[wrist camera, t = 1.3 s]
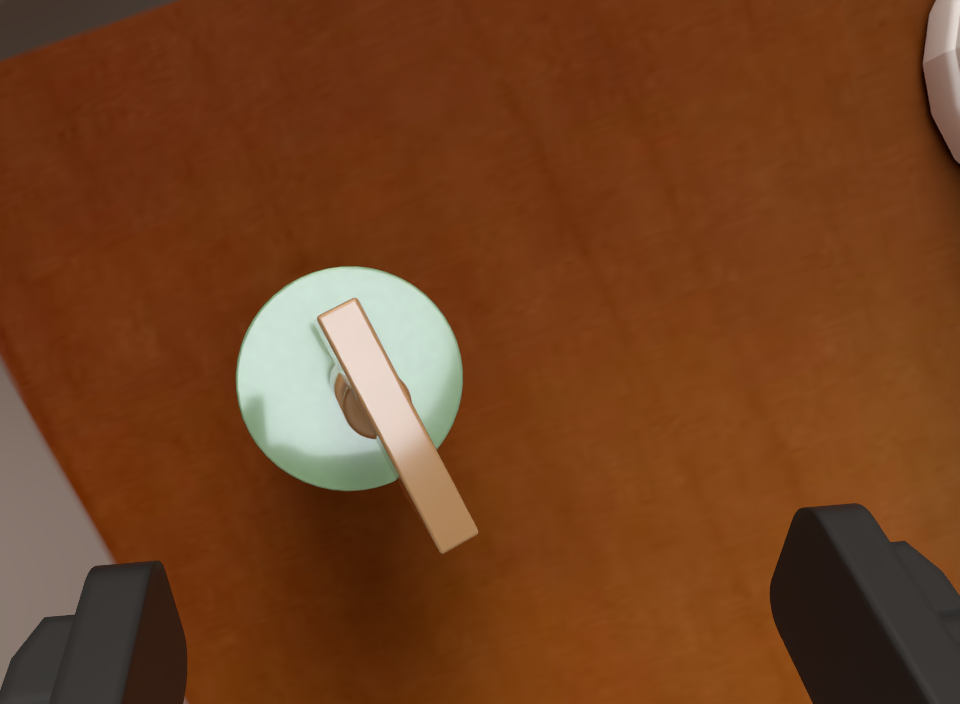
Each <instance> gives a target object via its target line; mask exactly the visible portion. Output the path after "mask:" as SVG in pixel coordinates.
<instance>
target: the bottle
mask: <svg viewBox="0 0 960 704" xmlns="http://www.w3.org/2000/svg"><path fill="white" fill-rule="evenodd" d="M923 70H924V75H925V81H926V86H927V92H928V97H929V103H930V109H931V114H932V117H933V119H934V121H935V122H936V124H937V126H938V128H939V130H940V132H941V134H942V136H943V138H944V140H945V142H946V144H947V146H948V147H949V149H950V151H951V153H952V155H953V157H954V159H955V160H956V161H957V162H958V163H959V164H960V0H936V1H935V3H934V5H933V7H932V9H931V11H930V14H929V19H928V27H927V35H926V42H925V50H924V58H923Z"/></svg>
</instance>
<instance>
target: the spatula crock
mask: <svg viewBox="0 0 960 704" xmlns="http://www.w3.org/2000/svg"><path fill="white" fill-rule="evenodd" d="M462 387H463V367H462V360H461V354H460V350H459V347H458V343H457V340H456V338H455V335H454V333H453V331H452V328H451V327H450V325H449V323H448V321H447V320H446V318H445V316H444V315H443V314H442V312H441V311H440V310H439V308H438V307H437V306H436V305H435V303H434V302H433V301H432V300H431V299H429V298H428V297H427V296H426V295H425V294H424V293H423V292H422V291H420V290H419V289H418V288H416V287H415V286H414V285H412V284H411V283H409V282H407V281H405V280H404V279H402V278H400V277H398V276H395V275H393V274H390V273H388V272H385V271H381V270H377V269H373V268H366V267H359V266H342V267H334V268H327V269H323V270H320V271H316V272H313V273H310V274H308V275H305V276H303V277H300V278H298V279H297V280H295V281H293V282H291V283H290V284H288V285H286V286H285V287H284V288H282V289H281V290H280V291H278V292H277V293H276V294H275V295H273V296H272V297H271V298H270V299H269V300H268V301H267V302H266V303H265V304H264V305H263V307H262V308H261V309H260V311H259V312H258V313H257V315H256V316H255V317H254V319H253V321H252V322H251V324H250V326H249V328H248V329H247V331H246V334H245V336H244V339H243V341H242V344H241V347H240V351H239V355H238V359H237V367H236V392H237V399H238V405H239V408H240V411H241V415H242V418H243V420H244V423H245V425H246V427H247V429H248V431H249V433H250V435H251V436H252V438H253V439H254V441H255V443H256V444H257V446H258V447H259V448H260V449H261V450H262V452H263V453H264V454H265V455H266V456H267V457H268V458H269V459H270V460H271V461H272V462H273V463H274V464H275V465H277V466H278V467H279V468H280V469H282V470H283V471H285V472H286V473H288V474H289V475H291V476H293V477H295V478H297V479H299V480H301V481H303V482H305V483H308V484H311V485H314V486H317V487H320V488H325V489H330V490H339V491H359V490H367V489H372V488H377V487H380V486H383V485H386V484H389V483H392V482H394V481H396V480H397V481H398V483H399V485H400V487H401V489H402V491H403V493H404V494H405V496H406V498H407V499H408V501H409V503H410V504H411V506H412V508H413V509H414V511H415V512H416V514H417V516H418V517H419V519H420V521H421V522H422V524H423V526H424V527H425V529H426V531H427V532H428V534H429V536H430V537H431V539H432V541H433V542H434V544H435V546H436V547H437V549H438V551H439V552H440V553H441V554H443V553H446V552H448V551H449V550H451V549H453V548H455V547H456V546H458V545H460V544H462V543H463V542H465V541H467V540H469V539H470V538H472V537H474V536H476V535H477V534H478V528H477V527H476V525H475V523H474V521H473V519H472V517H471V515H470V513H469V511H468V509H467V507H466V505H465V503H464V502H463V500H462V498H461V496H460V494H459V492H458V490H457V488H456V486H455V484H454V482H453V480H452V478H451V477H450V475H449V473H448V471H447V469H446V467H445V465H444V463H443V461H442V459H441V457H440V455H439V453H438V452H437V449H438V448H439V446H440V445H441V444H442V442H443V441H444V439H445V438H446V436H447V434H448V433H449V431H450V429H451V427H452V425H453V423H454V420H455V418H456V415H457V412H458V409H459V405H460V401H461V396H462Z"/></svg>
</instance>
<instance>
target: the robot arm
mask: <svg viewBox="0 0 960 704" xmlns="http://www.w3.org/2000/svg"><path fill="white" fill-rule="evenodd" d="M770 603H771V609H772V614H773V618H774V621H775V624H776V627H777V629H778V632H779V634H780V636H781V638H782V640H783V642H784V644H785V646H786V648H787V650H788V652H789V654H790V657H791V659H792V661H793V663H794V665H795V667H796V669H797V671H798V673H799V675H800V677H801V679H802V682H803V684H804V686H805V688H806V690H807V692H808V694H809V696H810V698H811V700H812V702H813V704H960V596H959V594H958V593H957V591H956V590H955V589H954V587H953V586H952V584H951V583H950V581H949V580H948V579H947V577H946V576H945V574H944V573H943V572H942V571H941V570H940V569H939V568H938V567H936V566H935V565H934V564H933V563H931V562H930V561H929V560H928V559H926V558H925V557H924V556H923V555H922V554H920V553H919V552H918V551H917V550H915V549H914V548H913V547H912V546H910V545H909V544H908V543H907V542H906V541H900V542H890V541H889V540H888V538H887V537H886V535H885V534H884V532H883V531H882V529H881V528H880V526H879V525H878V523H877V522H876V520H875V519H874V517H873V516H872V514H871V513H870V512H869V511H868V510H867V509H866V508H865V507H864V506H862V505H860V504H855V503H853V504H841V505H830V506H818V507H806V508H801V509H799V510H798V511H797V512H796V513H795V515H794V517H793V520H792V522H791V525H790V528H789V531H788V534H787V537H786V540H785V543H784V545H783V548H782V551H781V554H780V557H779V560H778V563H777V566H776V568H775V571H774V574H773V577H772V580H771V585H770ZM186 681H187V647H186V640H185V635H184V631H183V628H182V625H181V621H180V618H179V615H178V611H177V608H176V605H175V602H174V598H173V595H172V592H171V588H170V585H169V582H168V578H167V575H166V572H165V569H164V566H163V564H162V563H161V562H160V561H148V562H136V563H124V564H113V565H102V566H95V567H93V568H92V569H91V570H90V572H89V573H88V575H87V577H86V580H85V583H84V586H83V590H82V593H81V597H80V600H79V603H78V606H77V610H76V613H75V615H66V616H55V617H45V618H44V619H43V620H42V621H41V622H40V624H39V625H38V626H37V627H36V629H35V630H34V631H33V633H32V634H31V635H30V636H29V637H28V639H27V640H26V641H25V642H24V644H23V645H22V646H21V647H20V649H19V650H18V651H17V652H16V654H15V655H14V656H13V657H12V659H11V661H10V664H9V667H8V670H7V673H6V675H5V678H4V681H3V684H2V687H1V690H0V704H183V702H184V695H185V689H186Z"/></svg>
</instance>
